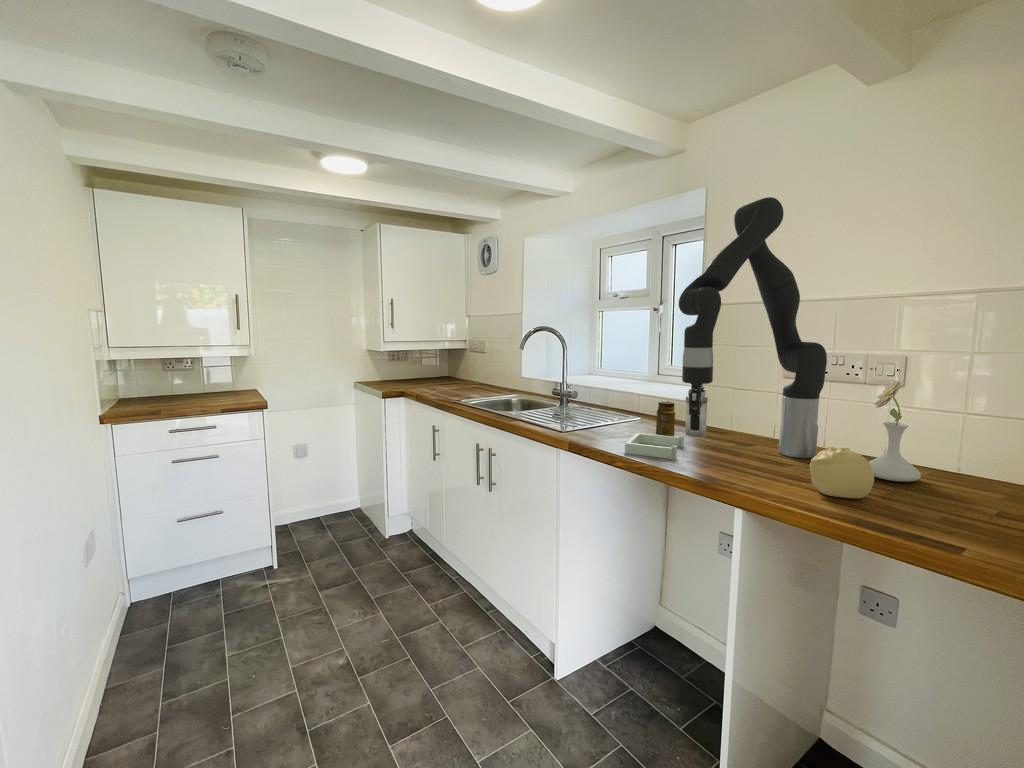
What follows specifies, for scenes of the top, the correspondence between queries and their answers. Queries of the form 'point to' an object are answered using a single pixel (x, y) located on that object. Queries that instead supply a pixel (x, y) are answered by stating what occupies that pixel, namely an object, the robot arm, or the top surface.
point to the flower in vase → (893, 444)
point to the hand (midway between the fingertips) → (695, 427)
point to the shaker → (703, 419)
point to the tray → (651, 450)
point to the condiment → (665, 419)
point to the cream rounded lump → (841, 473)
